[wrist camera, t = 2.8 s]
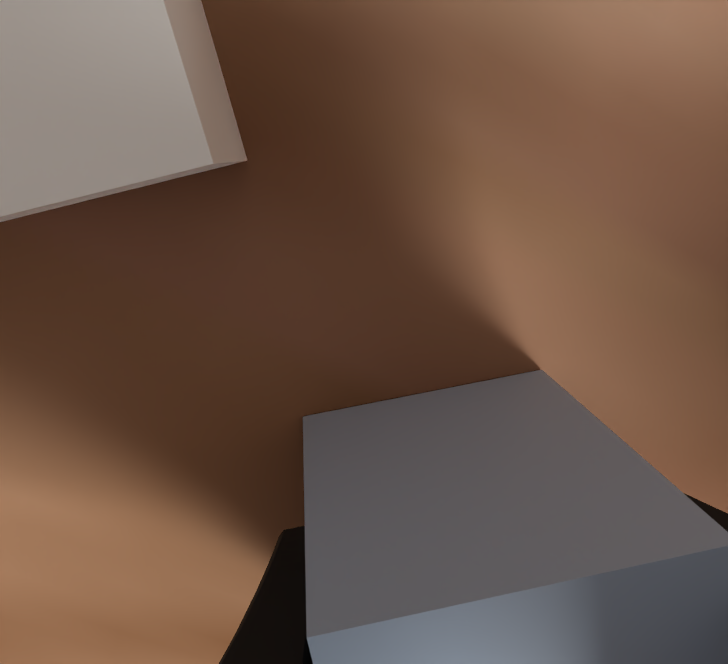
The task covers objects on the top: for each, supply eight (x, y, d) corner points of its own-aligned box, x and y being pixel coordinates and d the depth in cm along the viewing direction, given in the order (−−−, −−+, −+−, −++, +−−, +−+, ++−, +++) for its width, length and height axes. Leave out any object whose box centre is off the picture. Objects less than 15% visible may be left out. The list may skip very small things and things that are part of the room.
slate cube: (345, 611, 12) (377, 922, 7) (302, 416, 10) (306, 638, 6) (555, 566, 12) (725, 836, 7) (541, 369, 11) (740, 543, 6)
